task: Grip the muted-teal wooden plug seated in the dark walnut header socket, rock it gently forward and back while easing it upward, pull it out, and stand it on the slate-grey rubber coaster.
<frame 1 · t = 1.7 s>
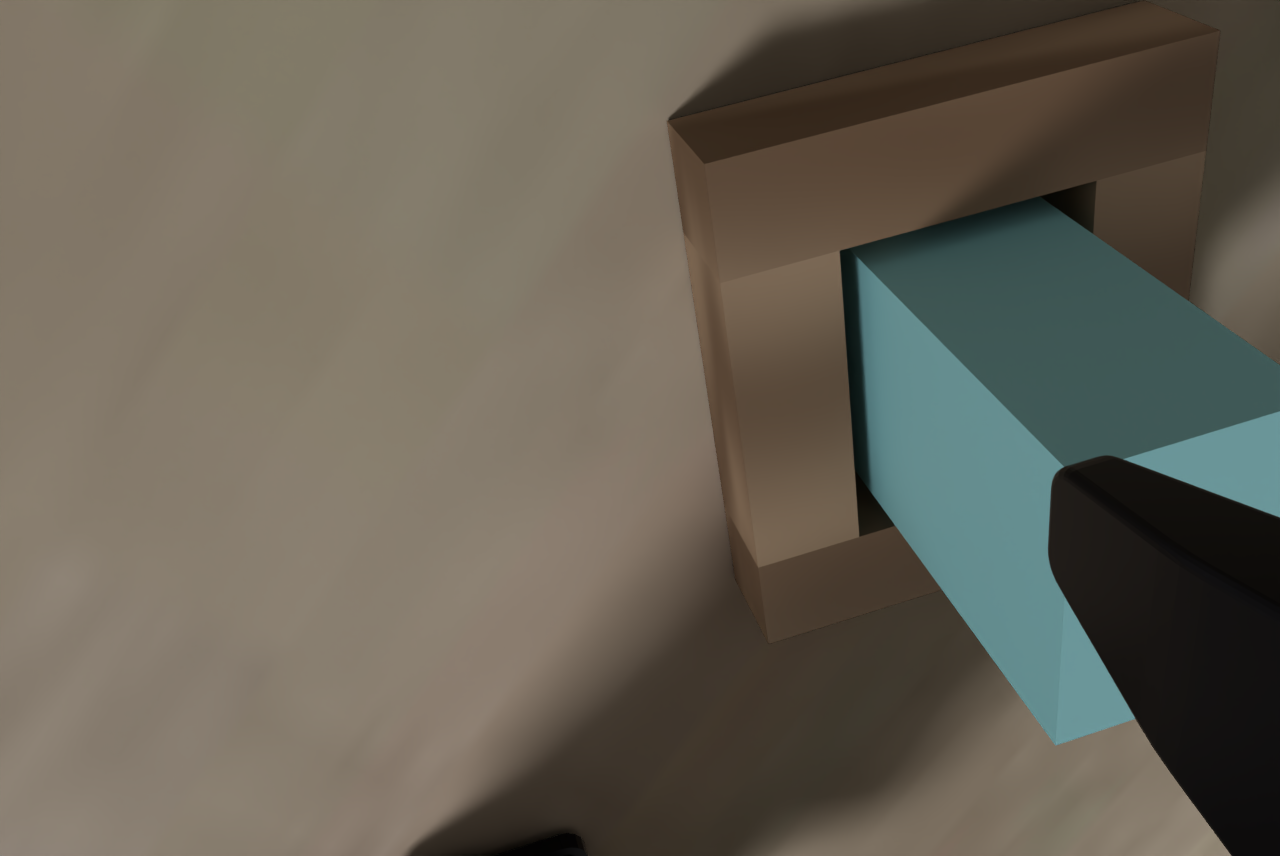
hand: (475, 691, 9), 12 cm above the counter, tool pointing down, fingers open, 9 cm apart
header: (919, 319, 23), on the counter
plug: (1027, 429, 20), in the header
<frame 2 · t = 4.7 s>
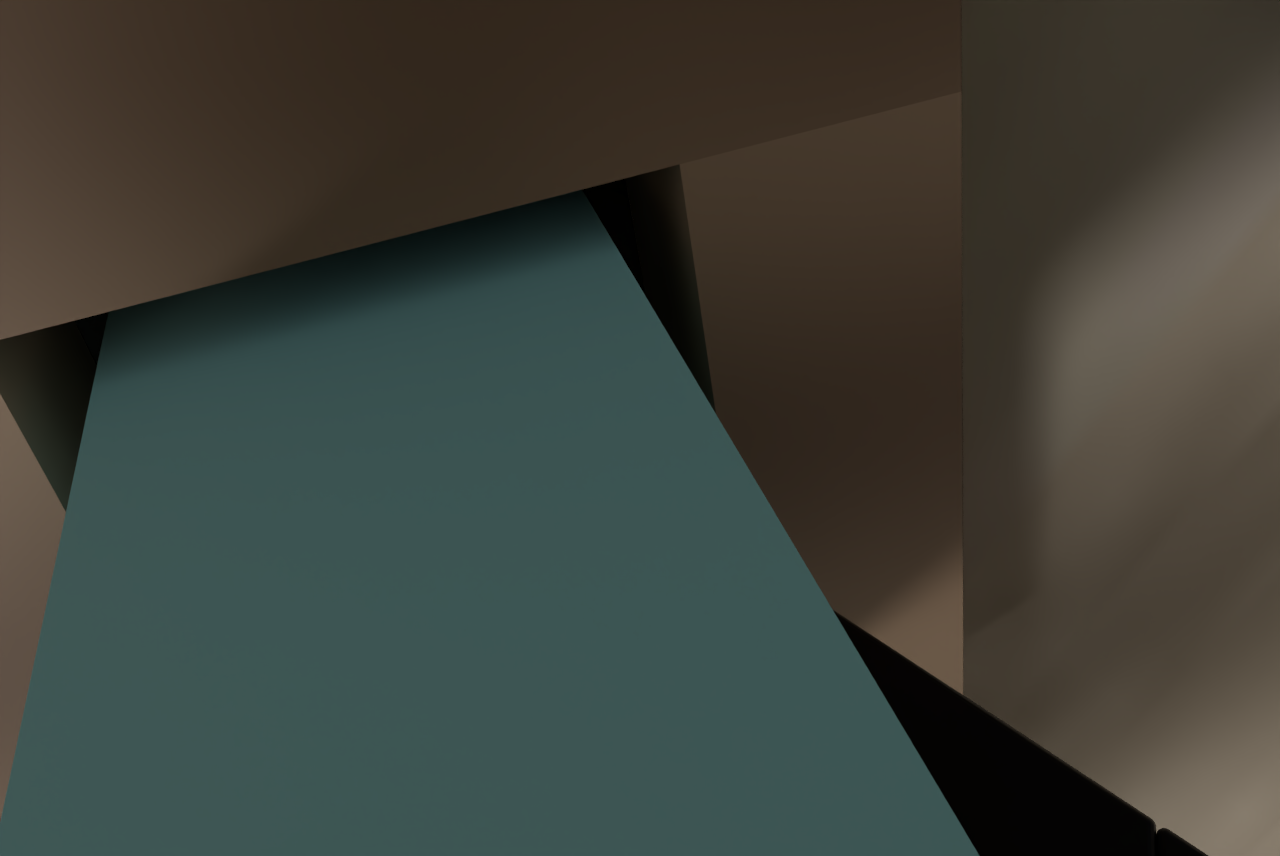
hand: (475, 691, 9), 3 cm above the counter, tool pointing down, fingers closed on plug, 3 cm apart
header: (425, 456, 11), on the counter
plug: (496, 795, 8), in the header, touching gripper
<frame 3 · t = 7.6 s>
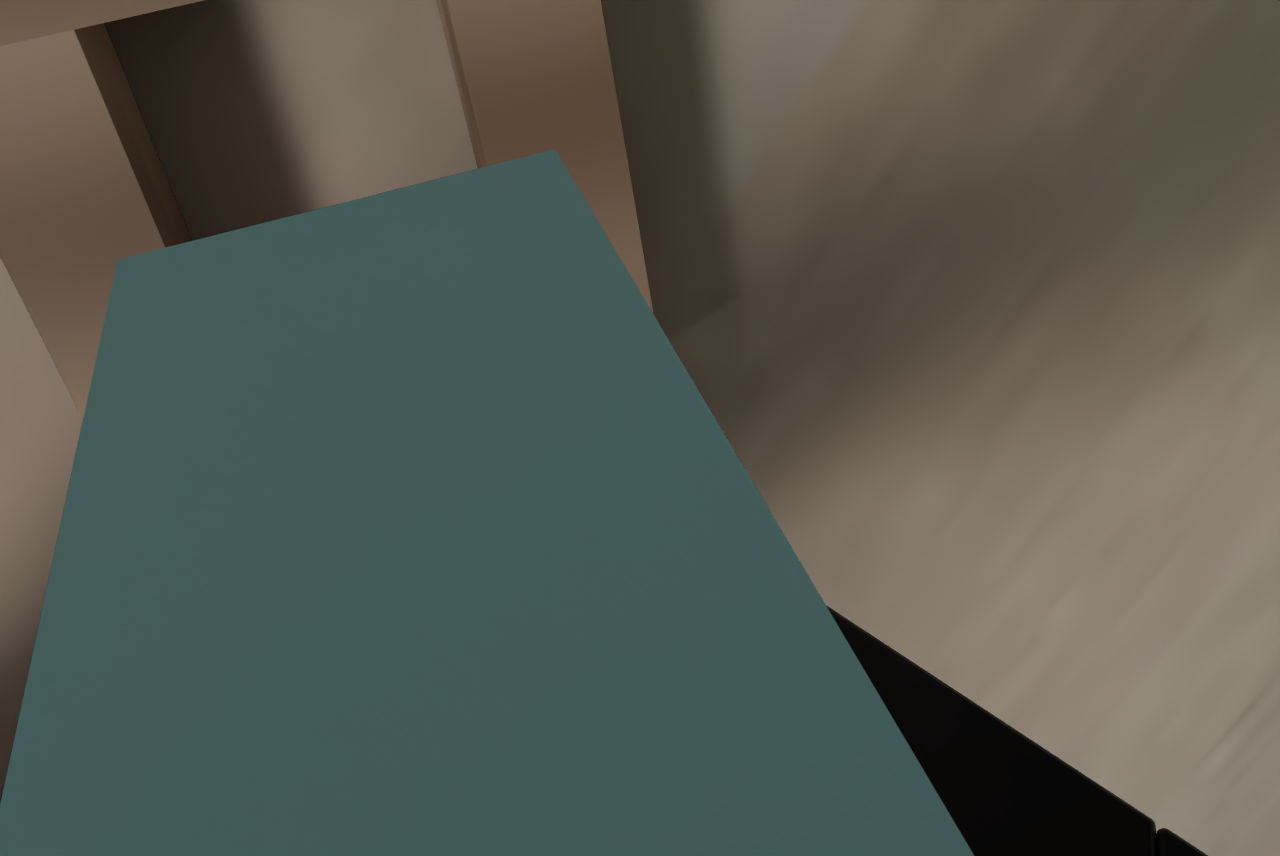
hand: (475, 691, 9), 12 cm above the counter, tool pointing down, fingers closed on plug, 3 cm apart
header: (322, 158, 18), on the counter
plug: (494, 795, 8), point 13 cm above the counter, touching gripper
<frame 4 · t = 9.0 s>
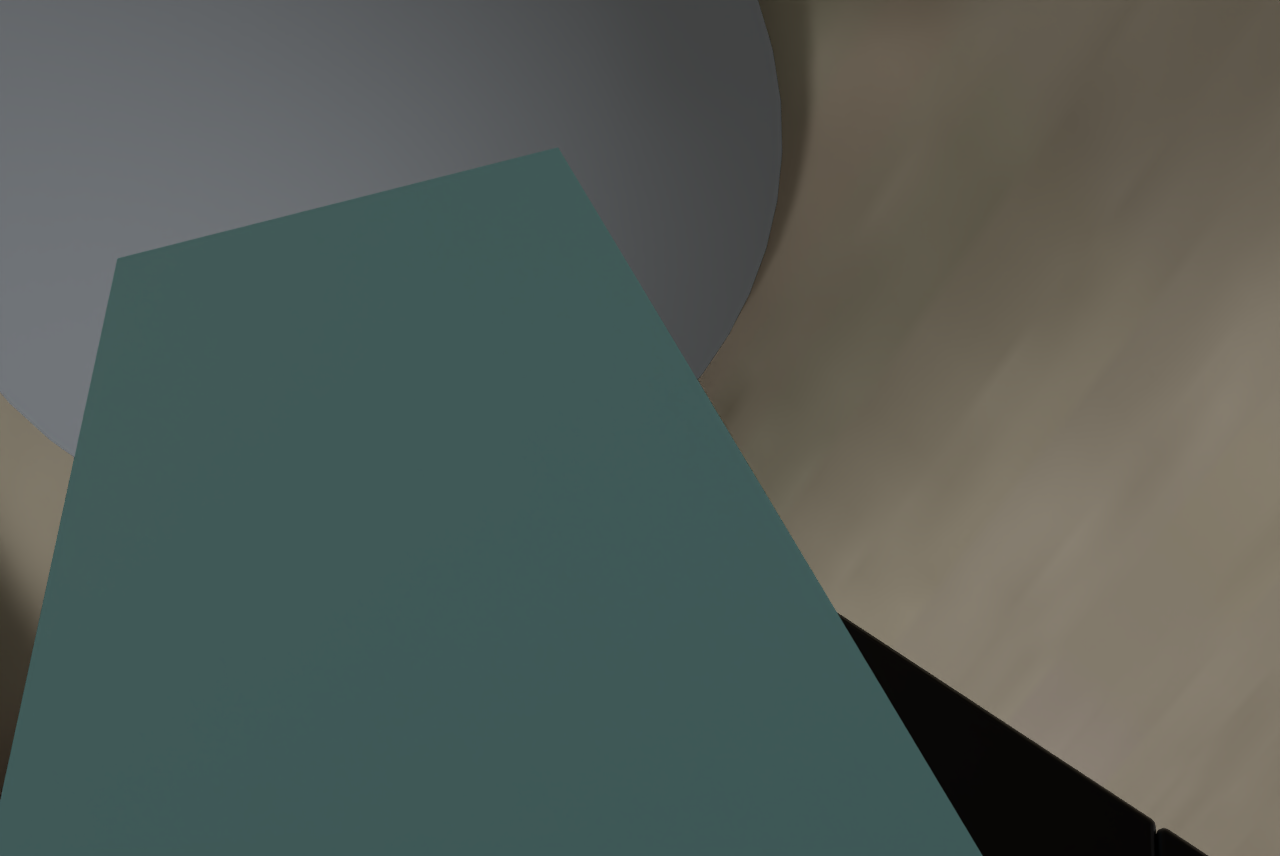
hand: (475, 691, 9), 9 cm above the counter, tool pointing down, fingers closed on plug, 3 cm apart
coaster: (376, 185, 16), on the counter
plug: (496, 798, 8), point 10 cm above the counter, touching gripper
when the fingers open (5 cm above the counter, at t = 10.4 s): plug drops 1 cm, resting on coaster.
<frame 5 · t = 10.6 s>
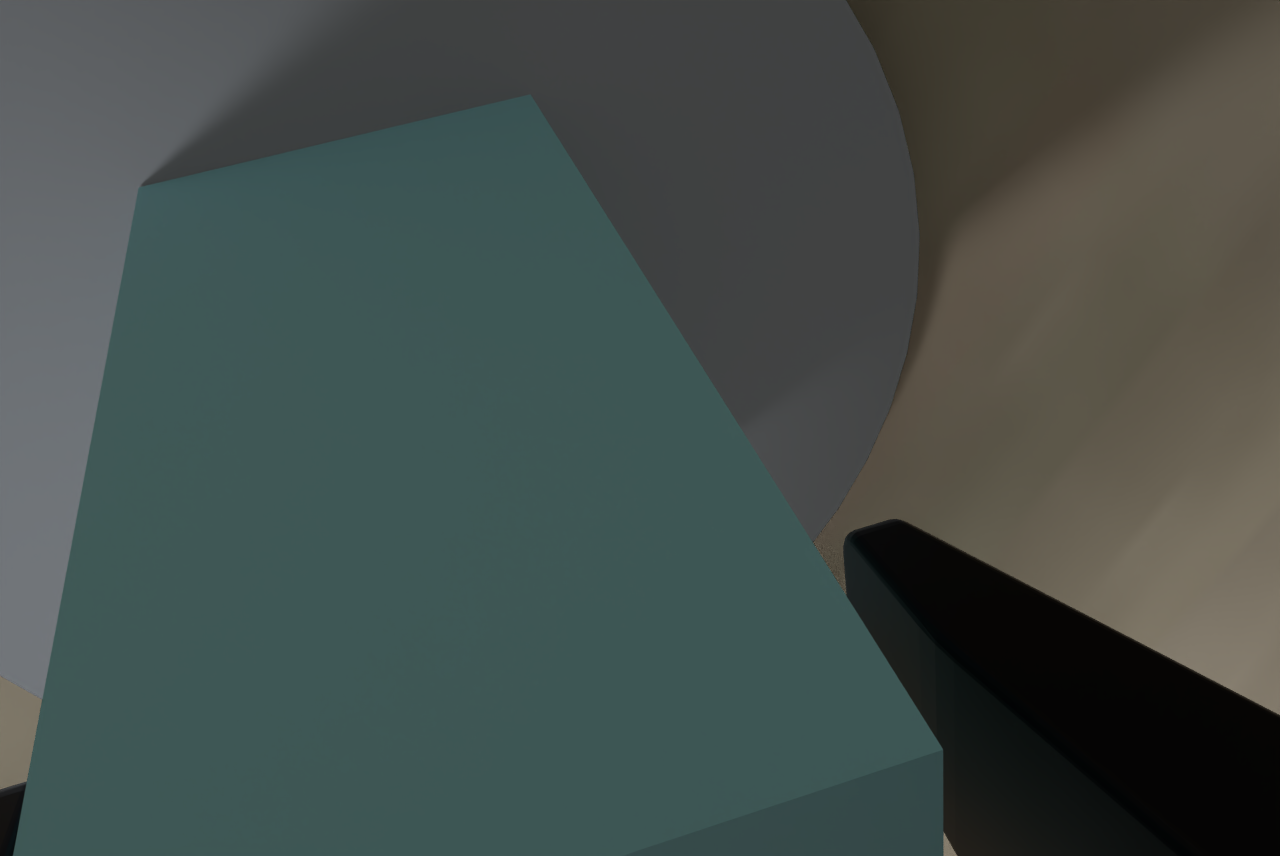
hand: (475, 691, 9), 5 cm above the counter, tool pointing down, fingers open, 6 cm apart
coaster: (405, 345, 13), on the counter
plug: (471, 642, 9), on the coaster, point 5 cm above the counter
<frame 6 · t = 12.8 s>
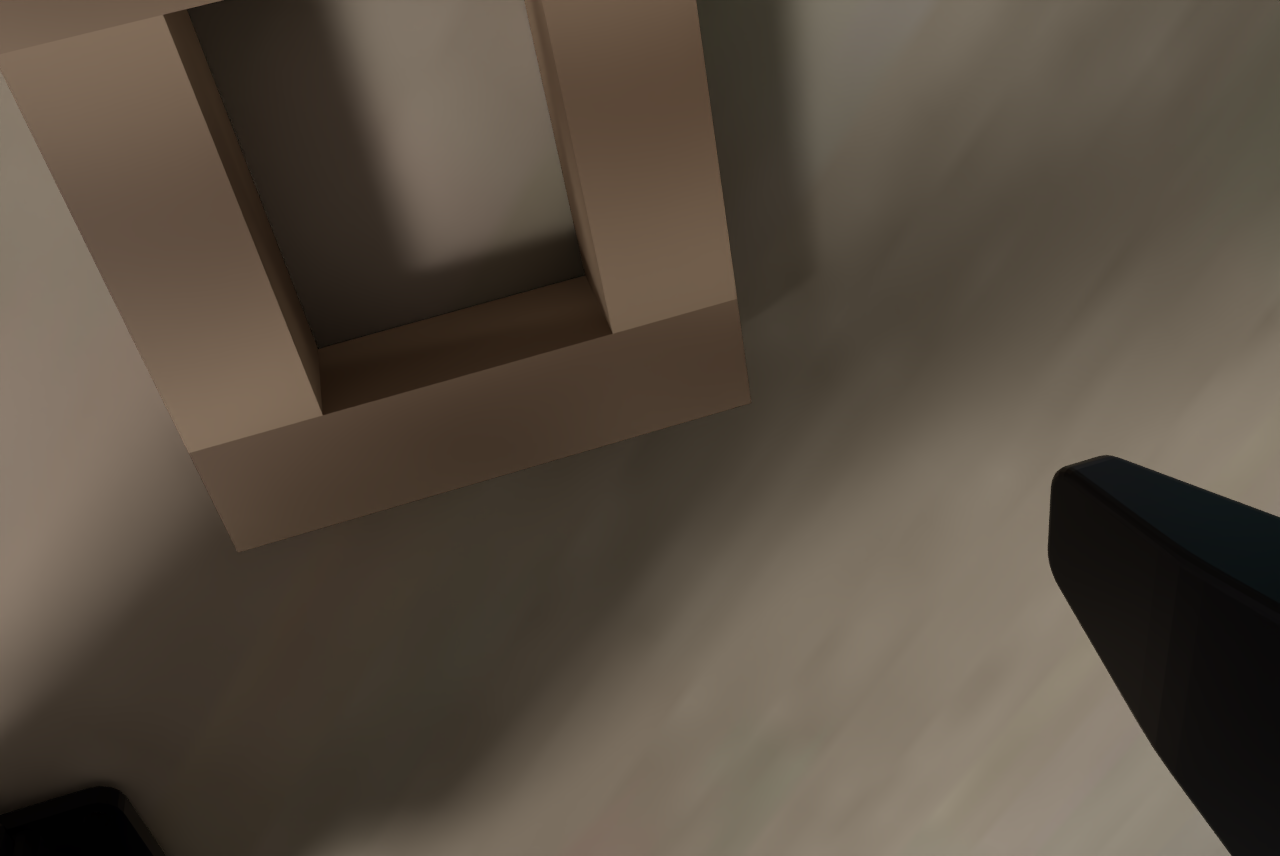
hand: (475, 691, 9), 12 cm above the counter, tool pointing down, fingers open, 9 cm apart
header: (401, 141, 18), on the counter
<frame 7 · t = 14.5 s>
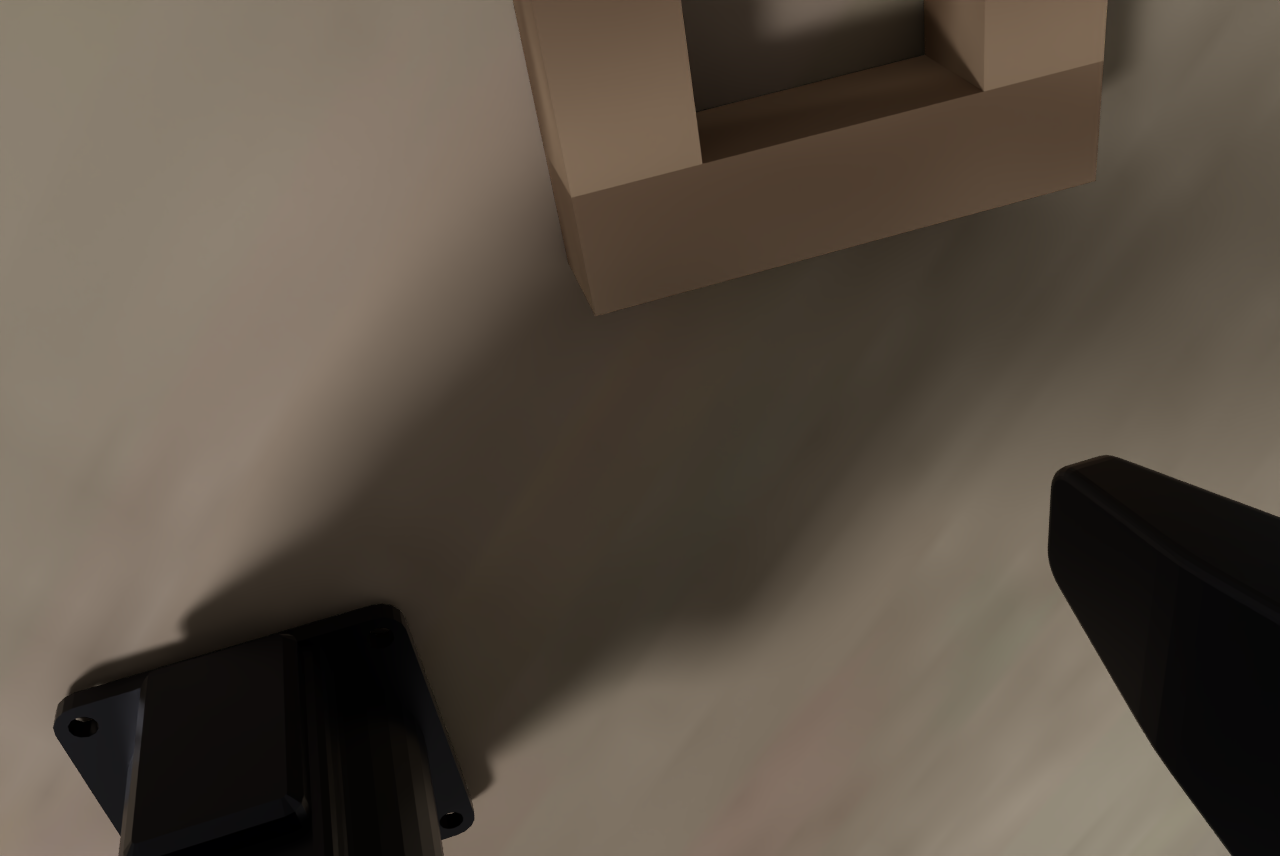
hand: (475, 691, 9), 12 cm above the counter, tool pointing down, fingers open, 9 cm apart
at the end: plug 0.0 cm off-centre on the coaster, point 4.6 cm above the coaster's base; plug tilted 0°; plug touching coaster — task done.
